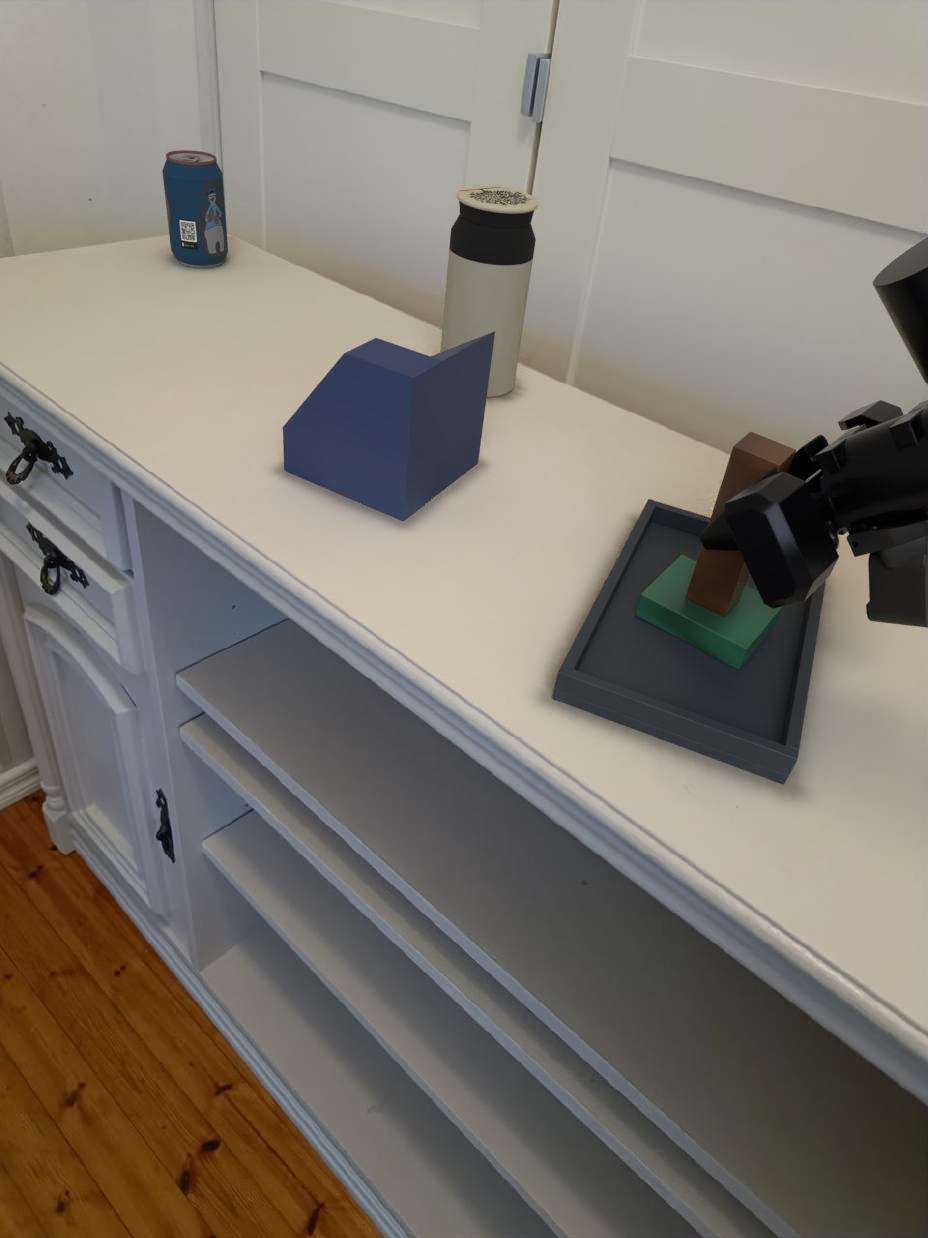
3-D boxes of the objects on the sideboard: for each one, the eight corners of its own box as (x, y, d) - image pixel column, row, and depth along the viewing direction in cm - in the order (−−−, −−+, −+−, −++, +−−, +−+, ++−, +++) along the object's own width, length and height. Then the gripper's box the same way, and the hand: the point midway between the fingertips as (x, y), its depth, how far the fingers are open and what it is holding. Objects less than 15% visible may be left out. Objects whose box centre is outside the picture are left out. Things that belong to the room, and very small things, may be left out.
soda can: (183, 248, 111) (173, 145, 103) (235, 256, 111) (229, 153, 103) (163, 264, 106) (151, 157, 98) (218, 272, 106) (210, 166, 98)
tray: (641, 521, 71) (648, 498, 69) (819, 577, 67) (830, 553, 66) (551, 698, 54) (557, 672, 52) (784, 785, 50) (797, 759, 49)
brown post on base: (775, 624, 60) (848, 453, 50) (738, 670, 56) (809, 495, 47) (675, 574, 63) (726, 405, 54) (634, 615, 60) (680, 441, 50)
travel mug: (528, 393, 88) (558, 206, 76) (462, 404, 84) (483, 210, 73) (488, 362, 93) (510, 182, 81) (424, 372, 89) (438, 185, 78)
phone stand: (367, 420, 80) (372, 291, 72) (478, 463, 76) (495, 330, 68) (284, 470, 71) (279, 329, 64) (403, 520, 67) (413, 377, 60)
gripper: (971, 673, 39) (694, 711, 51) (1063, 527, 50) (819, 586, 62) (876, 451, 37) (614, 544, 49) (993, 353, 49) (758, 448, 61)
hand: (713, 533), depth 56 cm, fingers closed on brown post on base, 2 cm apart
